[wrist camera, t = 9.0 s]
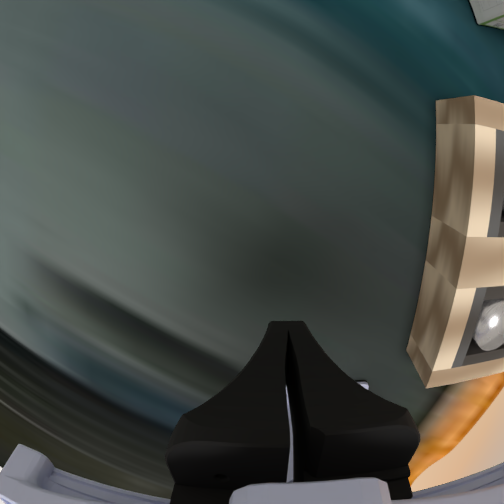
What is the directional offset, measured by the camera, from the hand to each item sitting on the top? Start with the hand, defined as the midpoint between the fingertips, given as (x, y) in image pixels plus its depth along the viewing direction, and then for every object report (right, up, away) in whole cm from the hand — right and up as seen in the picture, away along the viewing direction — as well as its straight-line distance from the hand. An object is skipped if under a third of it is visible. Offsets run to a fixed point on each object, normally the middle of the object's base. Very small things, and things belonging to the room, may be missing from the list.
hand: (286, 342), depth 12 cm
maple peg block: (+17, +5, +8) cm, 19 cm away
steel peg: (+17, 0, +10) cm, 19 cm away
